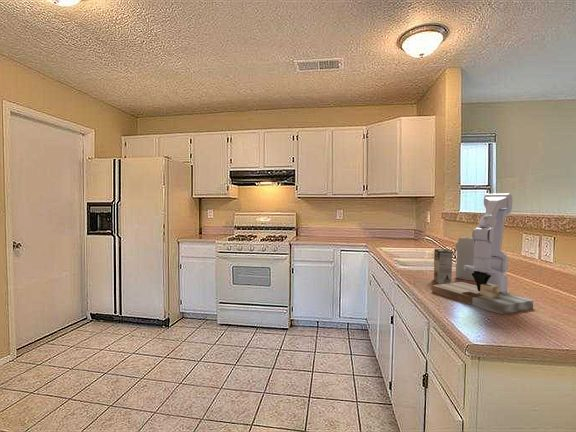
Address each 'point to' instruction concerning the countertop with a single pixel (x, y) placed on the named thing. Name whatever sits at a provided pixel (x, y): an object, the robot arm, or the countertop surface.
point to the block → (489, 290)
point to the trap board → (483, 298)
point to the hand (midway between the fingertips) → (480, 290)
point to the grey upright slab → (464, 258)
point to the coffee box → (442, 266)
